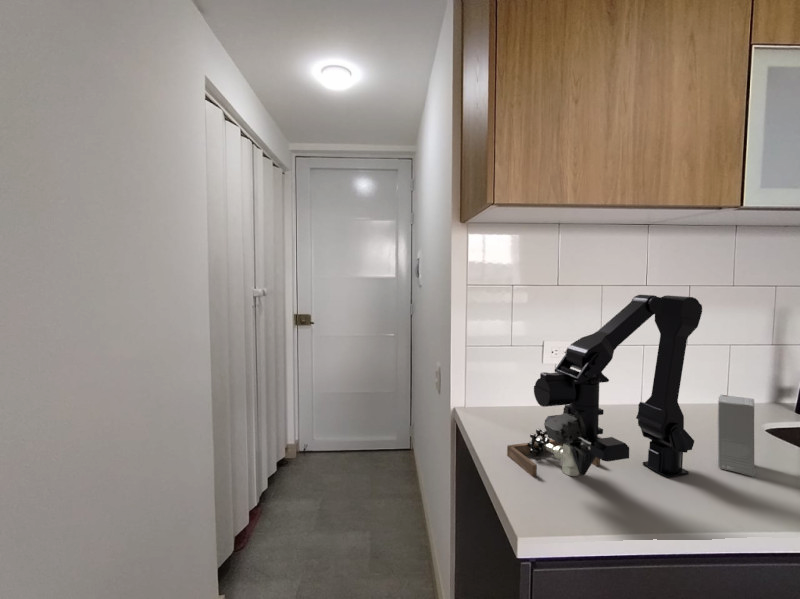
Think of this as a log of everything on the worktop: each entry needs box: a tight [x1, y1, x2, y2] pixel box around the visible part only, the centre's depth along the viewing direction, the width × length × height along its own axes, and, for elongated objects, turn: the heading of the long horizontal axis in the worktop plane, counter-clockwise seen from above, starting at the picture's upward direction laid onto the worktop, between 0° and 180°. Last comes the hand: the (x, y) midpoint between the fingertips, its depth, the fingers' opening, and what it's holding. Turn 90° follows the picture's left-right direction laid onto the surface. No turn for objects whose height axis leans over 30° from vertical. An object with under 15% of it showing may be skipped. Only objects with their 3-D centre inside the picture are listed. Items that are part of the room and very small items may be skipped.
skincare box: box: [716, 394, 756, 478], centre depth 92 cm, size 8×7×16 cm
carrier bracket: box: [506, 439, 601, 477], centre depth 95 cm, size 18×10×2 cm, turn 106°
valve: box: [527, 428, 580, 477], centre depth 93 cm, size 7×7×12 cm
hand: (582, 474), depth 85 cm, fingers closed
